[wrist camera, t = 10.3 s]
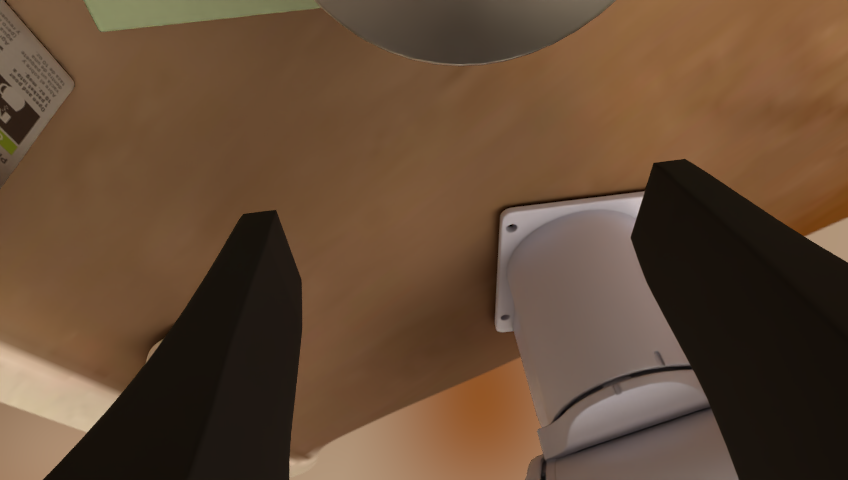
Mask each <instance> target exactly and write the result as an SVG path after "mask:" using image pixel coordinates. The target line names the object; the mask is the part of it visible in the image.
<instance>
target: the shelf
mask: <svg viewBox="0 0 848 480" xmlns="http://www.w3.org/2000/svg"><path fill="white" fill-rule="evenodd" d="M83 1H84V2H85V4H86V6H87V8H88V10H89V12H90V14H91V16H92V18H93V20H94V22H95V24H96V26H97V28H98V30H99V31H100V32H108V31H117V30H126V29H135V28H144V27H153V26H162V25H172V24H181V23H190V22H199V21H208V20H217V19H226V18H235V17H244V16H254V15H263V14H272V13H281V12H290V11H299V10H308V9H317V8H321V7H320V6H319V5H318V4H317V3H316V2H315V1H314V0H83Z"/></svg>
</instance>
